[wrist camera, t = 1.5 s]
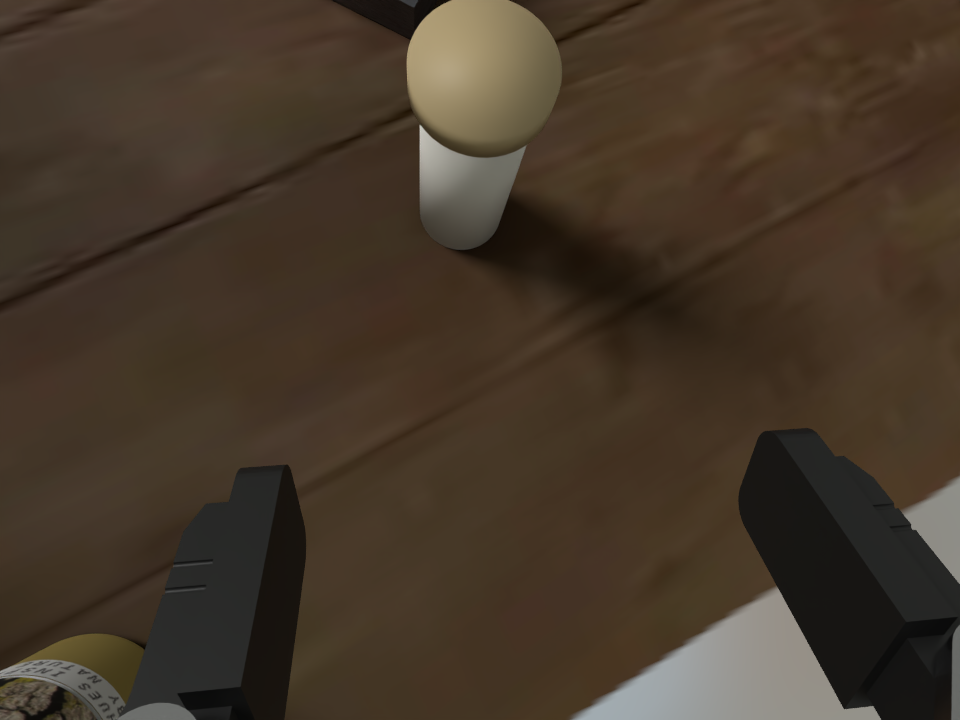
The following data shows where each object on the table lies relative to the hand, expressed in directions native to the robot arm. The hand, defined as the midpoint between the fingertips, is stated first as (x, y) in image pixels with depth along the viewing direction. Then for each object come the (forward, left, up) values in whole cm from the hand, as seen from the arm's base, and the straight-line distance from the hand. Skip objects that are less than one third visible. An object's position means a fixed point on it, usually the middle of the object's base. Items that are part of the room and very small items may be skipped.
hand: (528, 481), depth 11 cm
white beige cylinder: (-5, +11, -19) cm, 23 cm away
